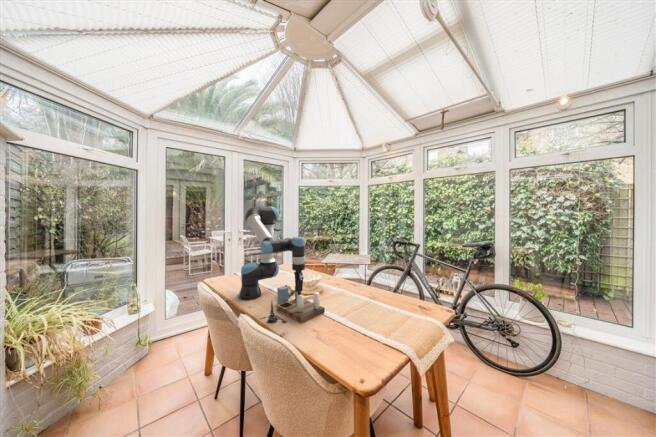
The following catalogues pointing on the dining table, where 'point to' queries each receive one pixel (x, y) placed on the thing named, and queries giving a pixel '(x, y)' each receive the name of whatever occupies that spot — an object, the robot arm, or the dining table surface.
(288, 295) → the ceramic sculpture
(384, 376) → the dining table surface
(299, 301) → the hinged leg
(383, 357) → the dining table surface
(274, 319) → the eiffel tower figurine
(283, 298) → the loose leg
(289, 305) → the stool seat
